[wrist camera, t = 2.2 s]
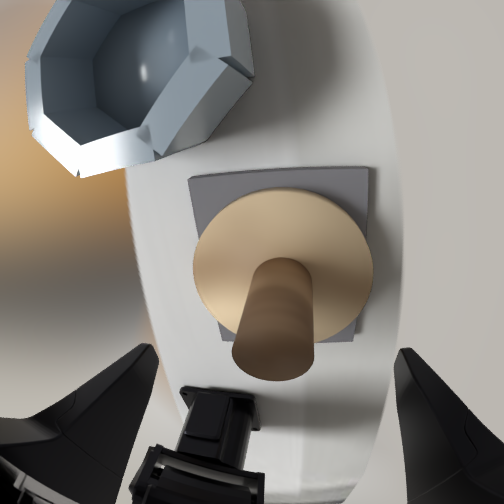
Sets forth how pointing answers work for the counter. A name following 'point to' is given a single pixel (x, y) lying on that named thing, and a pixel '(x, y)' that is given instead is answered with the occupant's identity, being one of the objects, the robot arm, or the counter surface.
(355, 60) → the counter surface
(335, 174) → the mat
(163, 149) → the bowl
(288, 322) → the lid
